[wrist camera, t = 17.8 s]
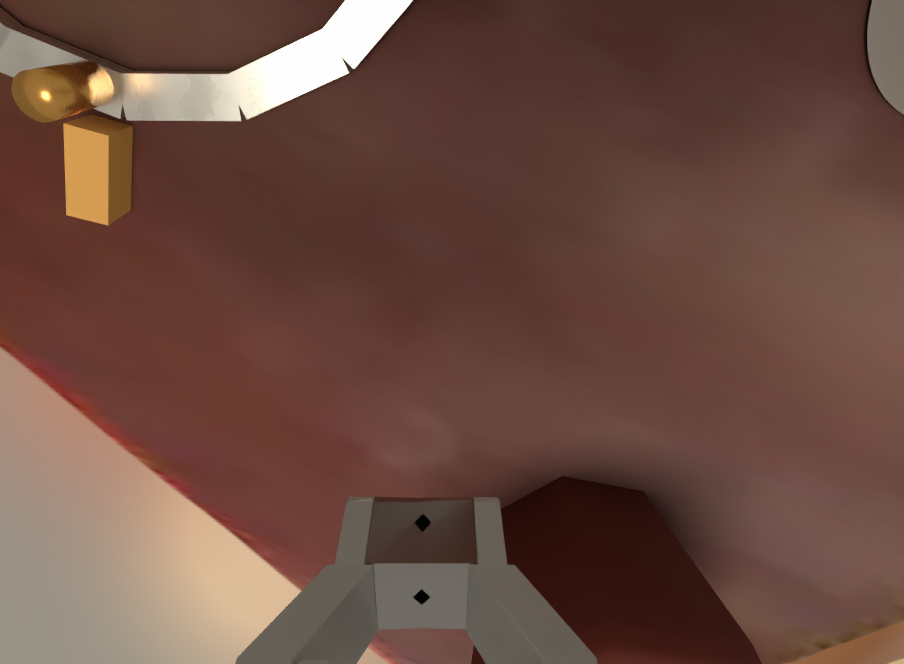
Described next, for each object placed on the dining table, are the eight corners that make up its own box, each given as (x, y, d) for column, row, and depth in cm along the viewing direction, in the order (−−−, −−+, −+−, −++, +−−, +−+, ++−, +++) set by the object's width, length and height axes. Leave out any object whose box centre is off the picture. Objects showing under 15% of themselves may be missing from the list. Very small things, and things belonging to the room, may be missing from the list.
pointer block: (91, 114, 35) (63, 123, 33) (132, 125, 36) (108, 135, 33) (92, 200, 38) (66, 214, 35) (130, 209, 38) (108, 225, 36)
